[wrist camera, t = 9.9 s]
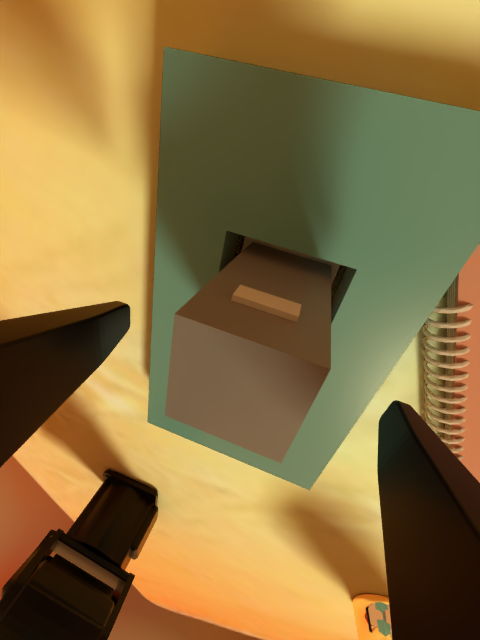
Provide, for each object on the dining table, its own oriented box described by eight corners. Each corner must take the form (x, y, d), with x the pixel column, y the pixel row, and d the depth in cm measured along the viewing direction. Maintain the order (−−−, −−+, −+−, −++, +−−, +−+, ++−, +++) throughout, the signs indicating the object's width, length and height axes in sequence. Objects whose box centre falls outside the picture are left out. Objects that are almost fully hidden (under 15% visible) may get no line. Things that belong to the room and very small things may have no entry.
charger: (236, 309, 16) (164, 415, 9) (253, 237, 13) (174, 306, 7) (303, 332, 15) (280, 463, 8) (332, 261, 13) (334, 363, 6)
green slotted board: (165, 397, 22) (147, 422, 20) (195, 68, 11) (163, 46, 9) (311, 456, 20) (309, 489, 18) (508, 136, 10) (558, 127, 7)
